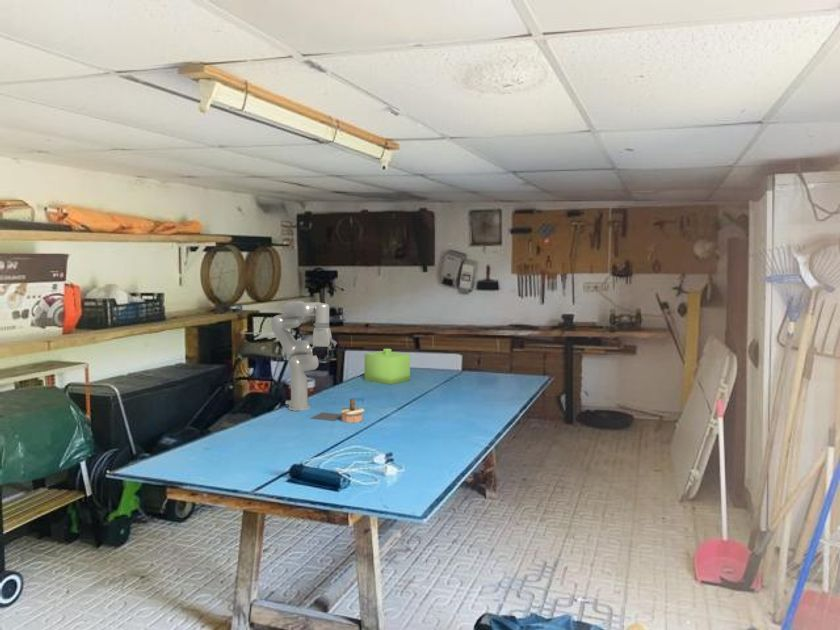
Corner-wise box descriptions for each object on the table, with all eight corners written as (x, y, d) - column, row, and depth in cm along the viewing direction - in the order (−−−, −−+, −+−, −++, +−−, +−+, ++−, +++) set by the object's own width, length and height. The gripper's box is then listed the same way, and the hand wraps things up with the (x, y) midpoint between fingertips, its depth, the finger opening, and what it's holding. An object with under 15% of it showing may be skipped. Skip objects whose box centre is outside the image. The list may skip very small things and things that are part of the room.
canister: (409, 380, 476) (410, 349, 474) (390, 385, 459) (390, 352, 457) (384, 376, 491) (384, 345, 489) (364, 380, 475) (364, 348, 473)
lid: (336, 413, 356) (336, 400, 355) (347, 408, 368) (347, 395, 367) (357, 415, 351) (357, 402, 351) (368, 410, 363) (368, 398, 363)
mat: (309, 419, 362) (309, 418, 362) (321, 413, 376) (321, 412, 376) (334, 422, 357) (334, 421, 357) (345, 415, 371) (345, 414, 371)
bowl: (340, 423, 355) (340, 414, 354) (344, 418, 365) (344, 409, 365) (360, 424, 354) (360, 414, 354) (363, 419, 365) (363, 410, 364)
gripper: (305, 325, 363) (305, 356, 364) (333, 327, 357) (333, 358, 359) (311, 324, 370) (311, 354, 371) (339, 325, 365) (339, 356, 366)
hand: (322, 356), depth 365 cm, fingers open, 9 cm apart
